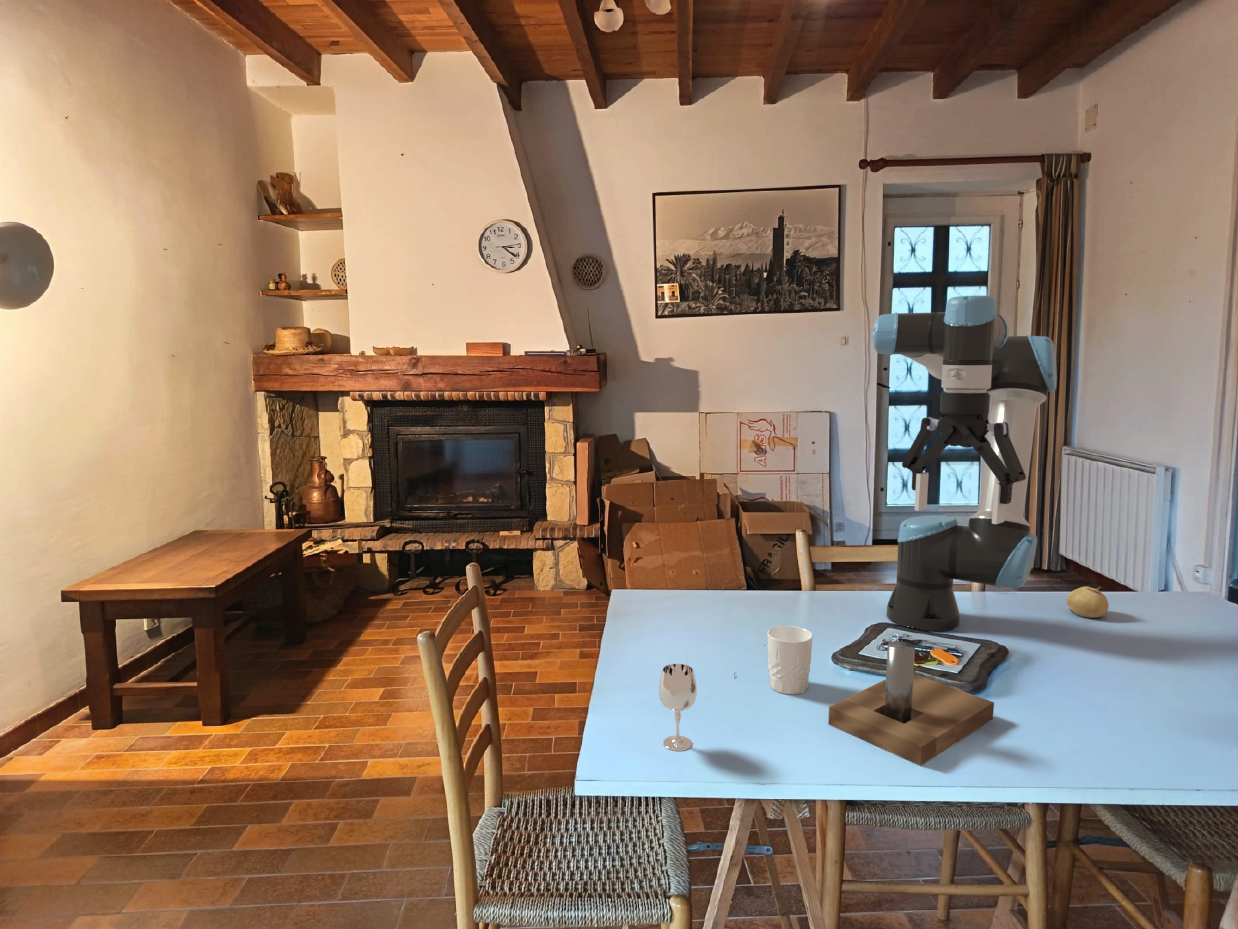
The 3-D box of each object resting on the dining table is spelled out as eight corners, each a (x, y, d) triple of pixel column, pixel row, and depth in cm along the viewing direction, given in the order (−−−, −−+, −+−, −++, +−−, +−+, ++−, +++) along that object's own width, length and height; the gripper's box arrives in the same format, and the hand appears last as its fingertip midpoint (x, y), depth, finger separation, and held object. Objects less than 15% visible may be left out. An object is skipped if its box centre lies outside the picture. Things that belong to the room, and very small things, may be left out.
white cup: (812, 680, 139) (814, 628, 137) (808, 699, 132) (810, 644, 130) (769, 674, 141) (770, 623, 140) (763, 693, 134) (764, 639, 133)
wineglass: (656, 735, 120) (656, 663, 118) (692, 733, 120) (693, 661, 118) (661, 754, 114) (661, 679, 112) (699, 752, 115) (700, 677, 113)
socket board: (828, 724, 123) (829, 706, 122) (903, 686, 136) (904, 670, 136) (920, 766, 110) (921, 746, 110) (992, 719, 124) (994, 702, 123)
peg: (878, 728, 121) (882, 645, 119) (892, 721, 124) (896, 639, 122) (901, 738, 118) (905, 653, 116) (915, 730, 121) (920, 646, 118)
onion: (1064, 617, 171) (1066, 586, 169) (1067, 607, 177) (1070, 577, 176) (1106, 624, 166) (1109, 592, 165) (1108, 613, 172) (1111, 583, 171)
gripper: (885, 388, 133) (880, 507, 137) (1033, 395, 114) (1023, 532, 117) (908, 387, 138) (903, 501, 141) (1055, 392, 119) (1044, 525, 122)
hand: (957, 516), depth 129 cm, fingers open, 13 cm apart
